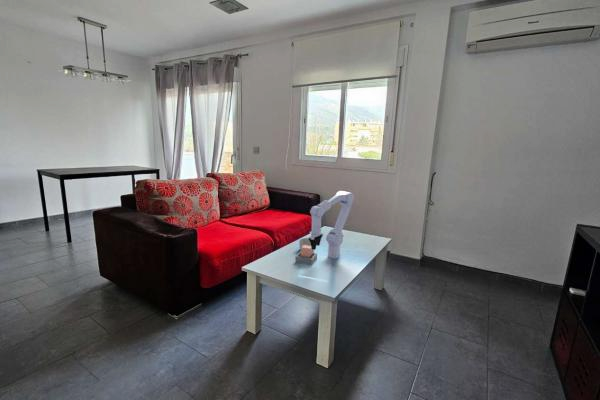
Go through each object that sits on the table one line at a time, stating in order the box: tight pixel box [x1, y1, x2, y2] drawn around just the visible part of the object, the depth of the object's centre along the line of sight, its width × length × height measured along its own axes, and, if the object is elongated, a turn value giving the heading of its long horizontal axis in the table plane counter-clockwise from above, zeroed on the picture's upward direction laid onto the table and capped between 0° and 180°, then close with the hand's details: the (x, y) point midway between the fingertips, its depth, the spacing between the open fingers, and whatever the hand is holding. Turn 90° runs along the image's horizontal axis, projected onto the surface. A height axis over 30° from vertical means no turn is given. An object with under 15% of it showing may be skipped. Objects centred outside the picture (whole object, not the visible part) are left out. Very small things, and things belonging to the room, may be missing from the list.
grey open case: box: [298, 236, 311, 250], centre depth 195 cm, size 14×11×8 cm
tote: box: [294, 251, 318, 266], centre depth 175 cm, size 11×11×4 cm
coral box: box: [300, 245, 314, 256], centre depth 174 cm, size 4×6×5 cm
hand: (315, 247), depth 172 cm, fingers open, 7 cm apart
